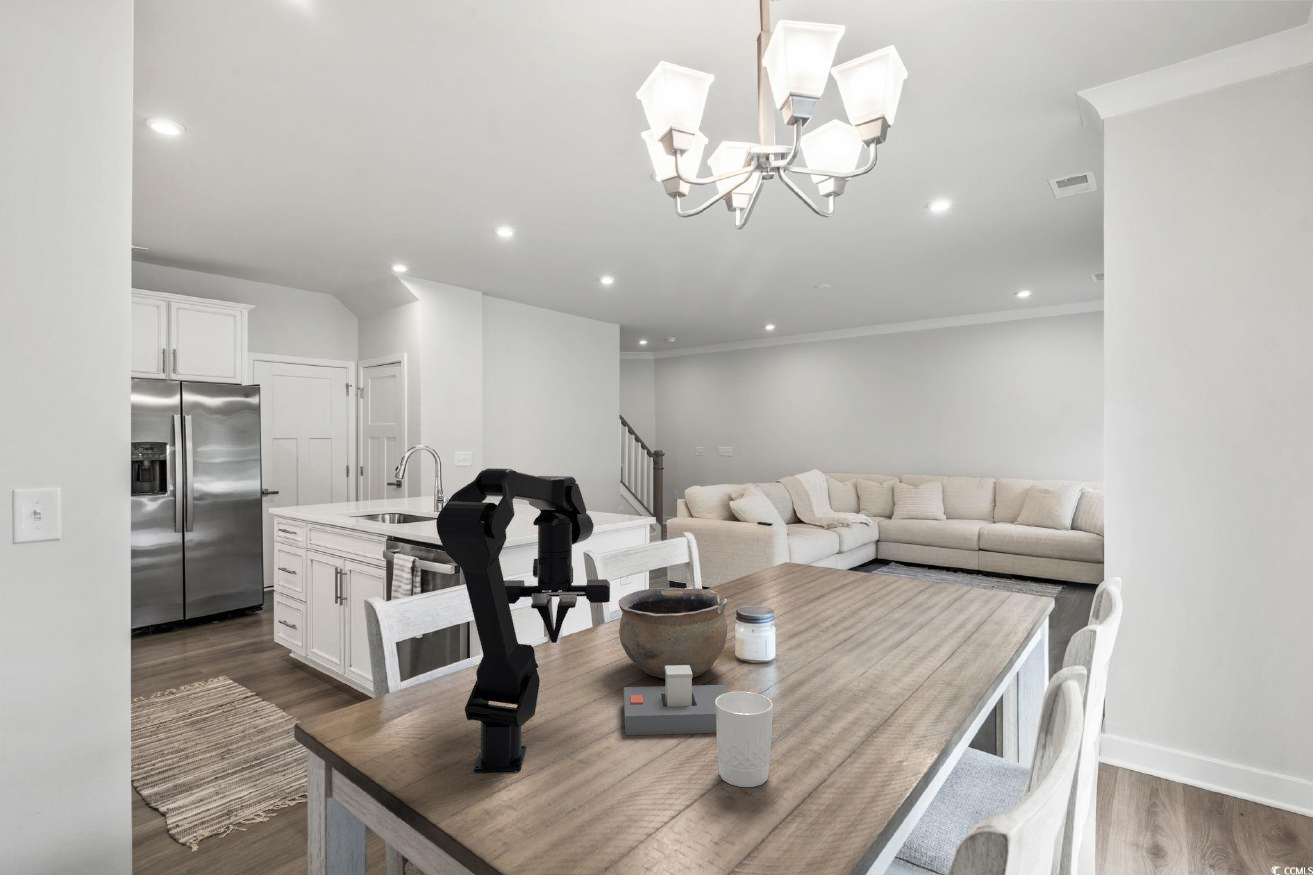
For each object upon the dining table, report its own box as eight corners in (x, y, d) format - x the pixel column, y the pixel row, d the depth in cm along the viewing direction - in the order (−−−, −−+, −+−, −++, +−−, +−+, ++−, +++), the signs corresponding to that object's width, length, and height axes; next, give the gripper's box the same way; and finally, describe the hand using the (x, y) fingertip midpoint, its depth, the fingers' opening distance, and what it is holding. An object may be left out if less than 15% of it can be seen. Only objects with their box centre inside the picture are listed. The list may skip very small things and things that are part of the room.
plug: (689, 712, 109) (689, 665, 109) (692, 722, 105) (692, 673, 105) (664, 712, 108) (664, 665, 109) (666, 723, 104) (666, 674, 104)
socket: (739, 732, 101) (739, 711, 101) (625, 735, 100) (625, 714, 100) (725, 701, 113) (725, 683, 113) (623, 704, 112) (623, 685, 112)
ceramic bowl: (733, 694, 116) (734, 612, 117) (614, 694, 116) (615, 611, 117) (720, 654, 139) (720, 585, 139) (620, 654, 138) (621, 585, 139)
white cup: (734, 755, 94) (734, 687, 94) (783, 773, 89) (783, 700, 89) (703, 777, 87) (703, 703, 88) (753, 797, 82) (753, 719, 83)
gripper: (610, 542, 117) (609, 627, 117) (507, 543, 116) (506, 629, 116) (609, 552, 106) (609, 647, 106) (495, 553, 105) (495, 648, 104)
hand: (554, 642), depth 108 cm, fingers closed
